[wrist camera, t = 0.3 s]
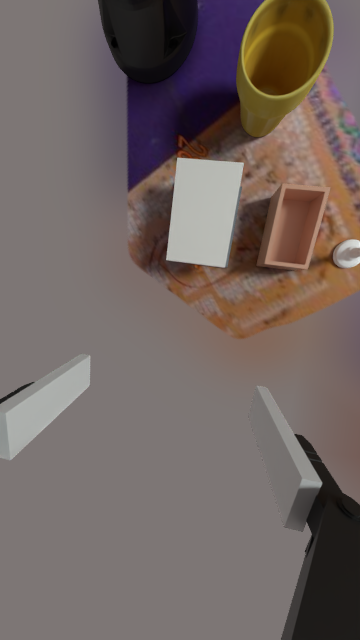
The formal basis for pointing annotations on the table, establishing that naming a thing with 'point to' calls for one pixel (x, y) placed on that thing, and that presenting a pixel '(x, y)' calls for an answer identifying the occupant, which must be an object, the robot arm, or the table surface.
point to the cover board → (203, 211)
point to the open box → (292, 226)
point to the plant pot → (281, 60)
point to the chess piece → (347, 254)
